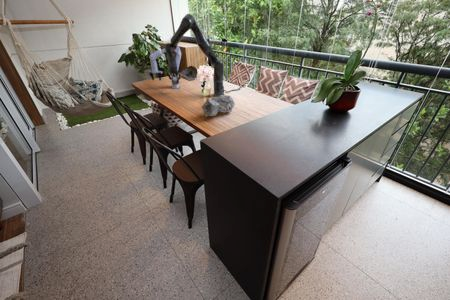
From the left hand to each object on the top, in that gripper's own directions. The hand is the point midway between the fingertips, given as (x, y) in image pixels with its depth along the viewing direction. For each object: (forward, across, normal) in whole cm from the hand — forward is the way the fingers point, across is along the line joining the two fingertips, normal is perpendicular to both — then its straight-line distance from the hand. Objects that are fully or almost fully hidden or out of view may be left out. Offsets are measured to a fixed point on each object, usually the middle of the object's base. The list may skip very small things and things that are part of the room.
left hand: (156, 80), depth 217 cm
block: (0, +24, -11) cm, 27 cm away
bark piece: (+9, +20, +50) cm, 55 cm away
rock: (+9, +76, -59) cm, 96 cm away
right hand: (0, +25, -11) cm, 27 cm away
